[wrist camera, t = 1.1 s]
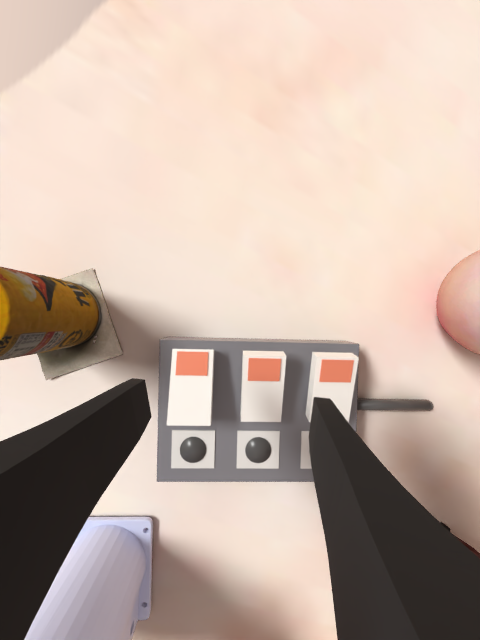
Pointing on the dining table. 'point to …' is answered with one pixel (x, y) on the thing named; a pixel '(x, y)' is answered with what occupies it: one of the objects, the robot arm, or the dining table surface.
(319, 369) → the rocker near camera
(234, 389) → the rocker switch panel
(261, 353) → the rocker middle
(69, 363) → the condiment
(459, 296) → the decorative fruit
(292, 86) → the dining table surface
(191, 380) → the rocker near arm
